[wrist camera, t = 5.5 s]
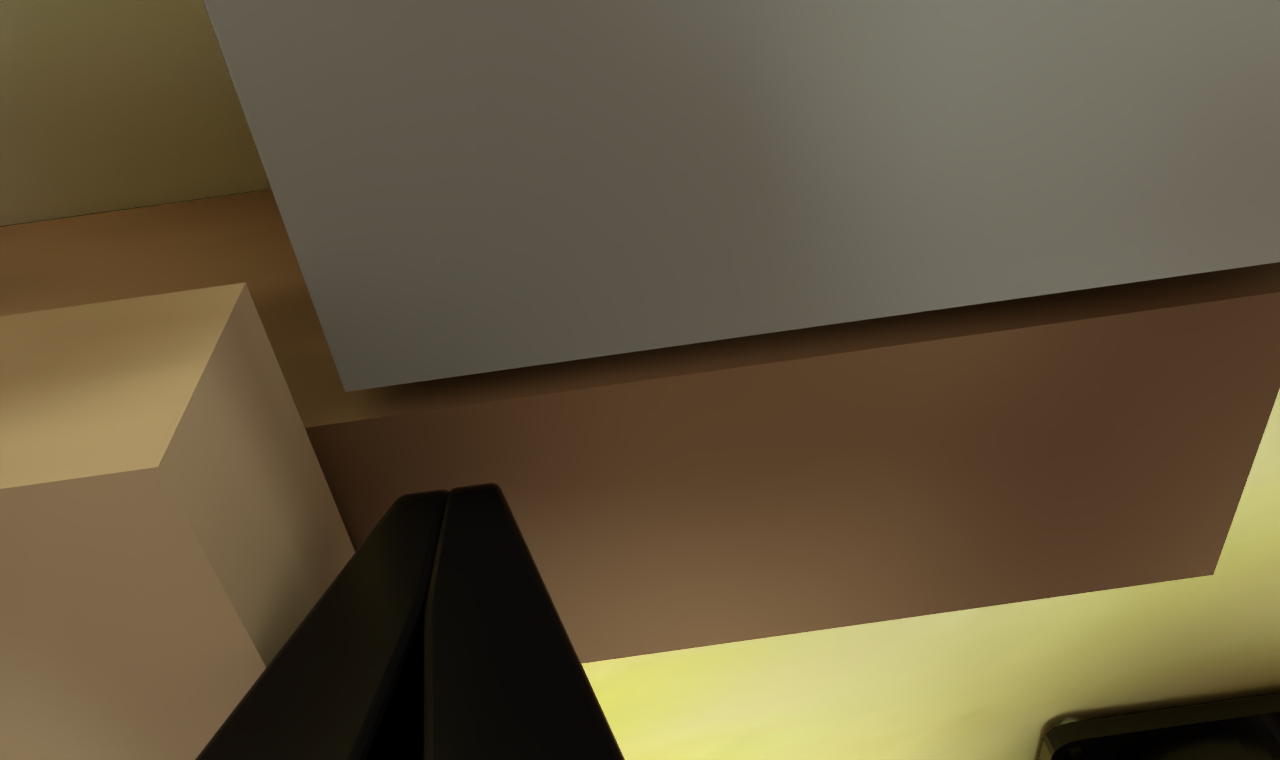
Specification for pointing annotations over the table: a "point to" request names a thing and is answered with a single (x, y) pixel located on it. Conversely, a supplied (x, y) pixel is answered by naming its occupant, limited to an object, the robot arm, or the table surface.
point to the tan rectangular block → (149, 523)
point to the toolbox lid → (741, 162)
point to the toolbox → (769, 438)
